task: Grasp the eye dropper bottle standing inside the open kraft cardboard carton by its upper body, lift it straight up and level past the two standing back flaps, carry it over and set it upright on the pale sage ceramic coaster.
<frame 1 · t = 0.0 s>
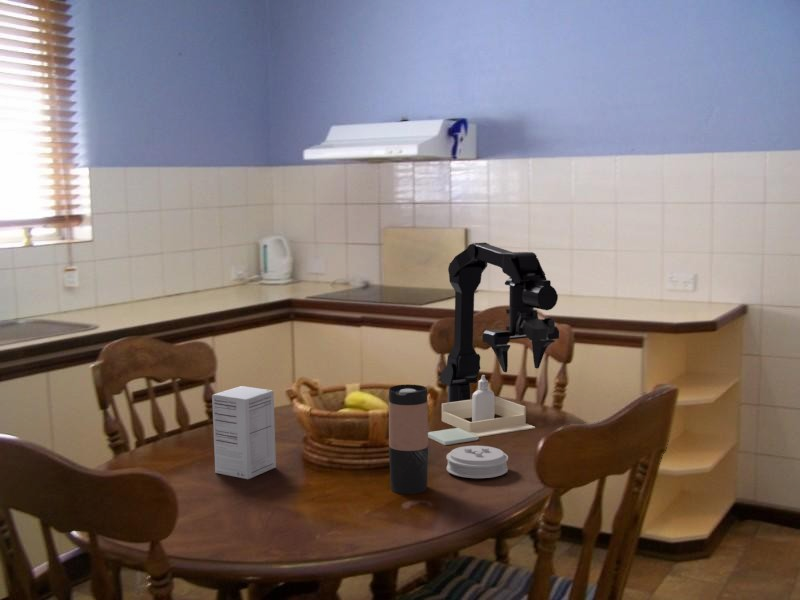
hand: (521, 370, 227), 15 cm above the table, fingers open, 9 cm apart
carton: (483, 422, 236), on the table
lid: (477, 474, 197), on the table
supplement box: (245, 471, 199), on the table
coaster: (451, 437, 223), on the table
travel mug: (408, 489, 187), on the table
eye dropper bottle: (483, 423, 236), resting in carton
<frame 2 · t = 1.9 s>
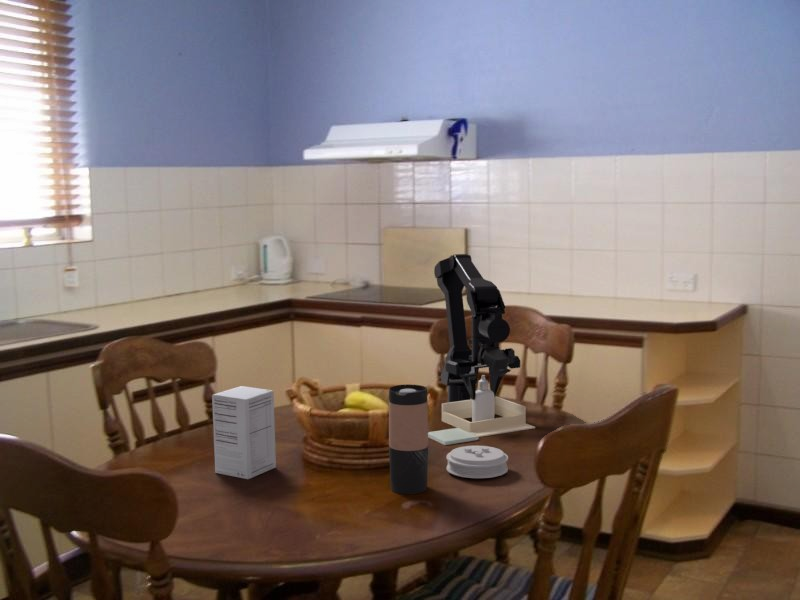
hand: (483, 398, 235), 6 cm above the table, fingers closed on eye dropper bottle, 5 cm apart
eye dropper bottle: (483, 423, 236), resting in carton, touching gripper
everything else where it was.
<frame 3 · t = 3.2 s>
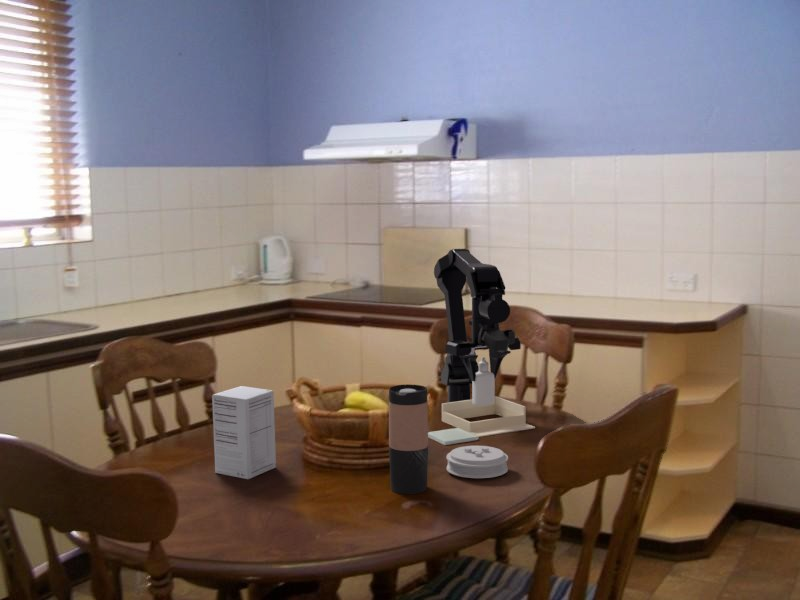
hand: (483, 379, 235), 11 cm above the table, fingers closed on eye dropper bottle, 5 cm apart
eye dropper bottle: (483, 405, 236), point 4 cm above the table, touching gripper
everything else where it was.
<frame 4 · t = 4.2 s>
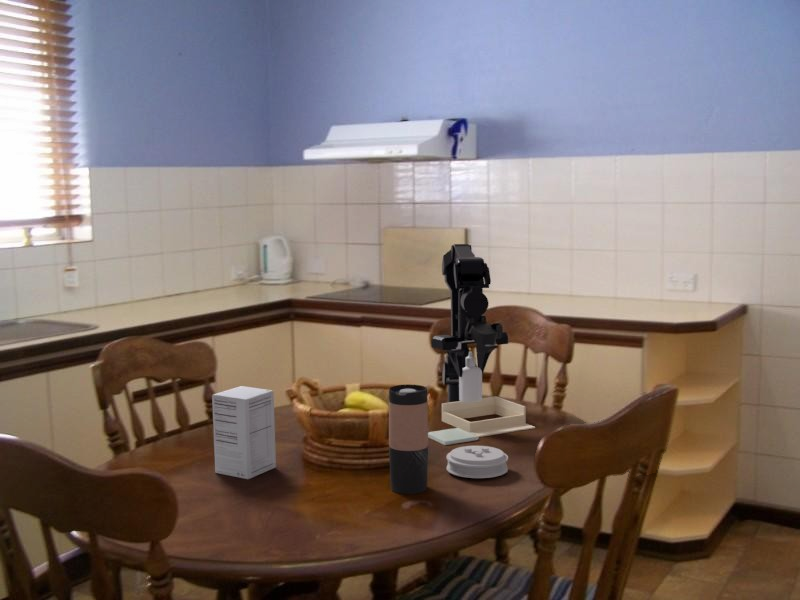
hand: (470, 375, 228), 13 cm above the table, fingers closed on eye dropper bottle, 5 cm apart
eye dropper bottle: (470, 401, 229), point 7 cm above the table, touching gripper
everything else where it was.
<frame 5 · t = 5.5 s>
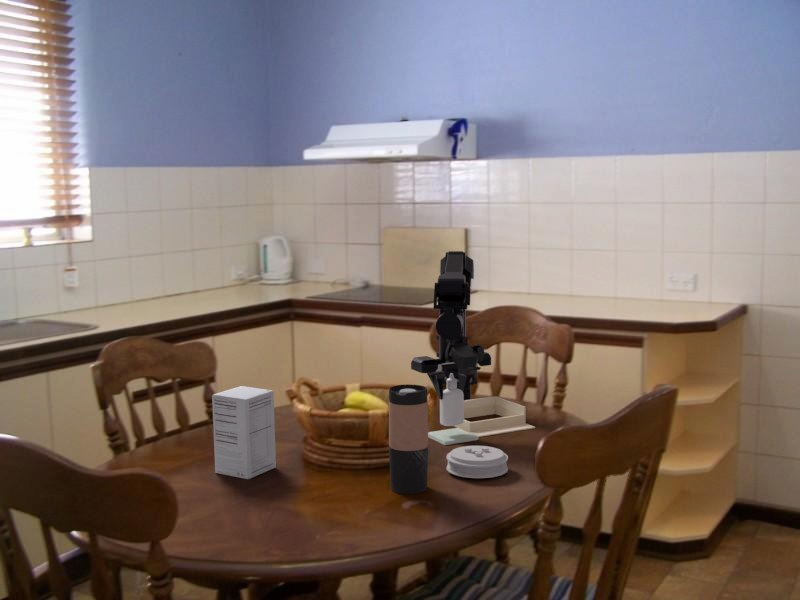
hand: (451, 397, 222), 10 cm above the table, fingers closed on eye dropper bottle, 5 cm apart
eye dropper bottle: (451, 424, 222), point 3 cm above the table, touching gripper
everything else where it was.
when the fingers open (8 cm above the table, at t = 6.6 s): eye dropper bottle stays where it is, resting on coaster.
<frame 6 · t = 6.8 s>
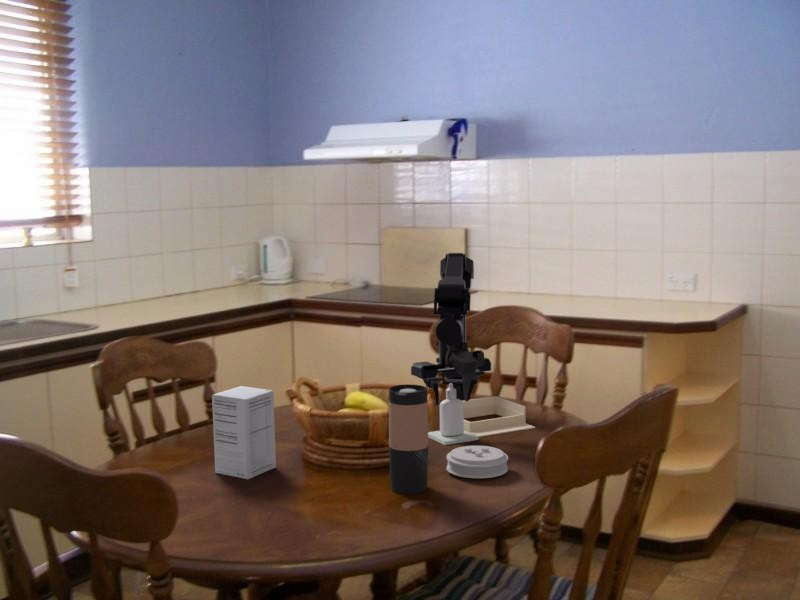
hand: (451, 403, 222), 8 cm above the table, fingers open, 8 cm apart
eye dropper bottle: (452, 435, 223), point 1 cm above the table, touching coaster
everything else where it was.
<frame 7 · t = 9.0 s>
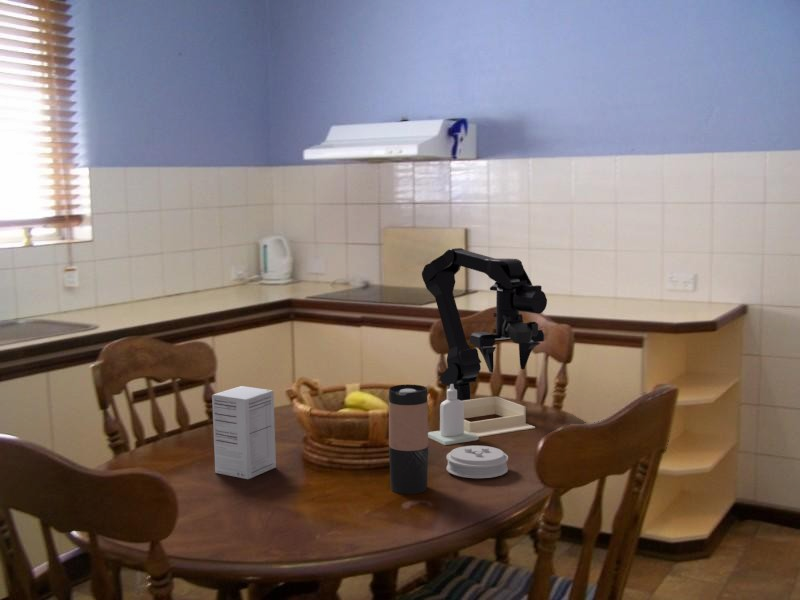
hand: (507, 370, 240), 12 cm above the table, fingers open, 9 cm apart
nothing on the table moved.
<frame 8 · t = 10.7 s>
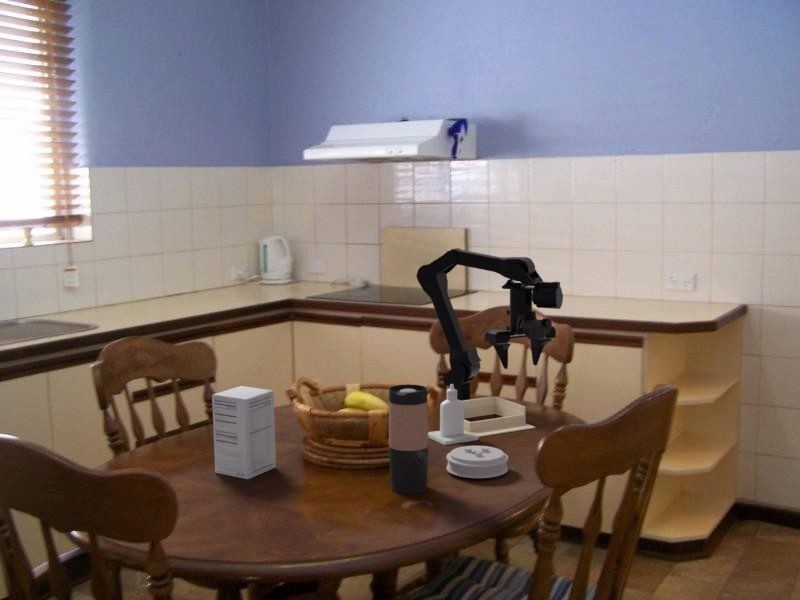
hand: (520, 366, 245), 12 cm above the table, fingers open, 9 cm apart
nothing on the table moved.
at the end: eye dropper bottle 0.1 cm off-centre on the coaster, point 0.6 cm above the coaster's base; eye dropper bottle tilted 0°; the gripper is holding nothing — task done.
